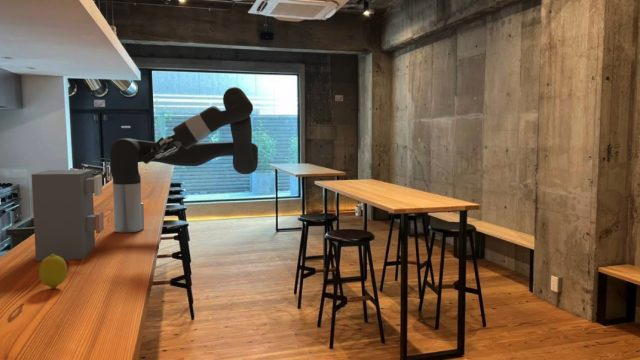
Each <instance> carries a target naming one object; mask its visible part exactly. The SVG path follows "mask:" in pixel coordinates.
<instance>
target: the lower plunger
mask: <svg viewBox="0 0 640 360" xmlns="http://www.w3.org/2000/svg"><path fill="white" fill-rule="evenodd" d="M86 224H87V231H91V230H94V231H95V234H100V233H102V232H103V231H104V230H105V229H104V227H105V226H104V225H105V223H104V211H98V212H97V213H95V214H94V215H87V216H86Z"/></svg>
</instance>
